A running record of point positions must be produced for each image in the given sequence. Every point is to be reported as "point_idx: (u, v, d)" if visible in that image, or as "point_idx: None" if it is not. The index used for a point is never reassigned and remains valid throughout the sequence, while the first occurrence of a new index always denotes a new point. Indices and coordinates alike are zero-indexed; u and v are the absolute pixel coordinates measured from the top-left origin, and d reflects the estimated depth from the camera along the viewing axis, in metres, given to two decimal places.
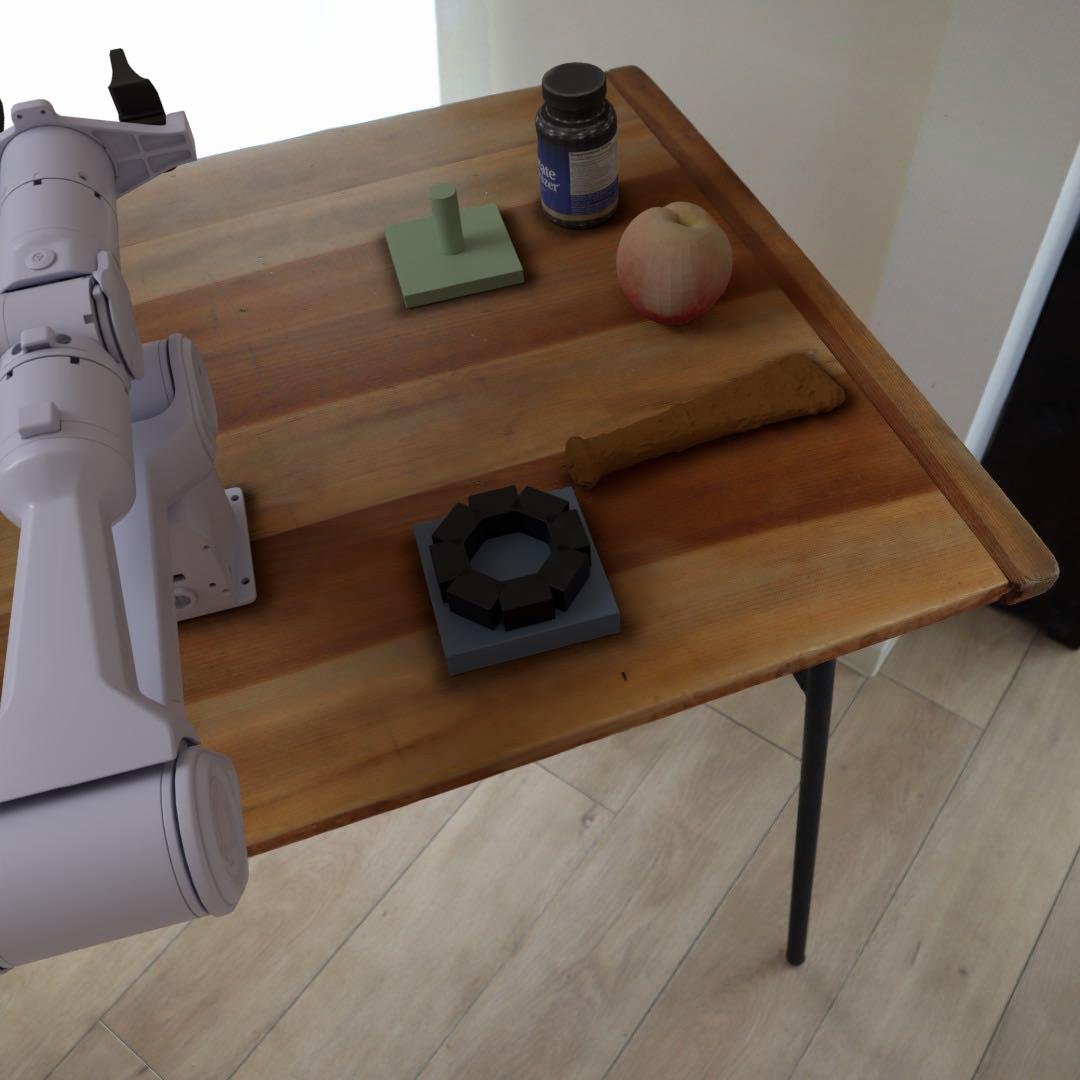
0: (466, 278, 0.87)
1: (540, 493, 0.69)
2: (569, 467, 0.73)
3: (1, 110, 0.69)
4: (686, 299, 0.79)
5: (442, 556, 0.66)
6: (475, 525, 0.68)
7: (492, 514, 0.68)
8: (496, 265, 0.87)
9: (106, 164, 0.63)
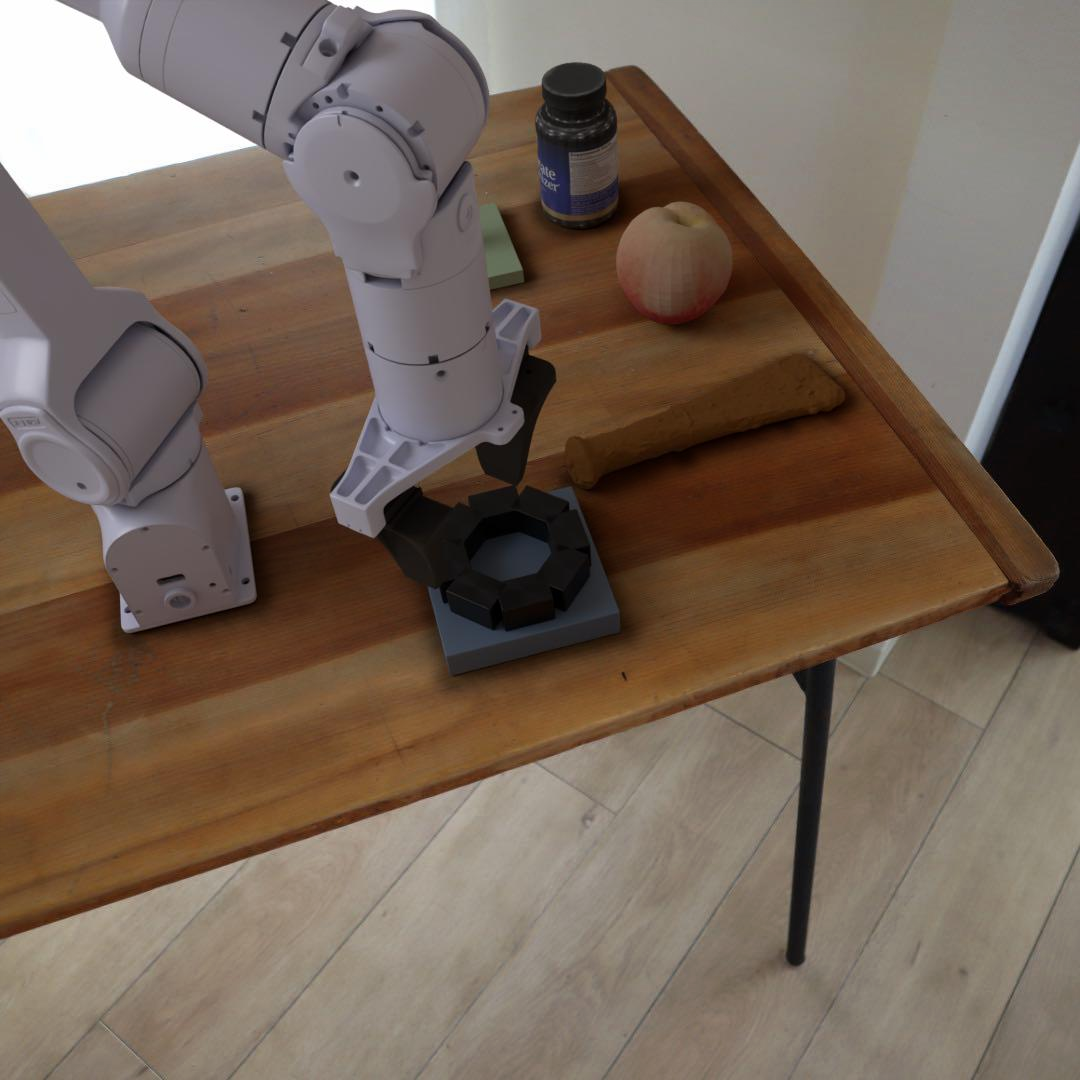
0: None
1: (540, 493, 0.69)
2: (569, 467, 0.73)
3: (485, 463, 0.62)
4: (686, 299, 0.79)
5: None
6: (475, 525, 0.68)
7: (492, 514, 0.68)
8: (496, 265, 0.87)
9: (414, 421, 0.51)
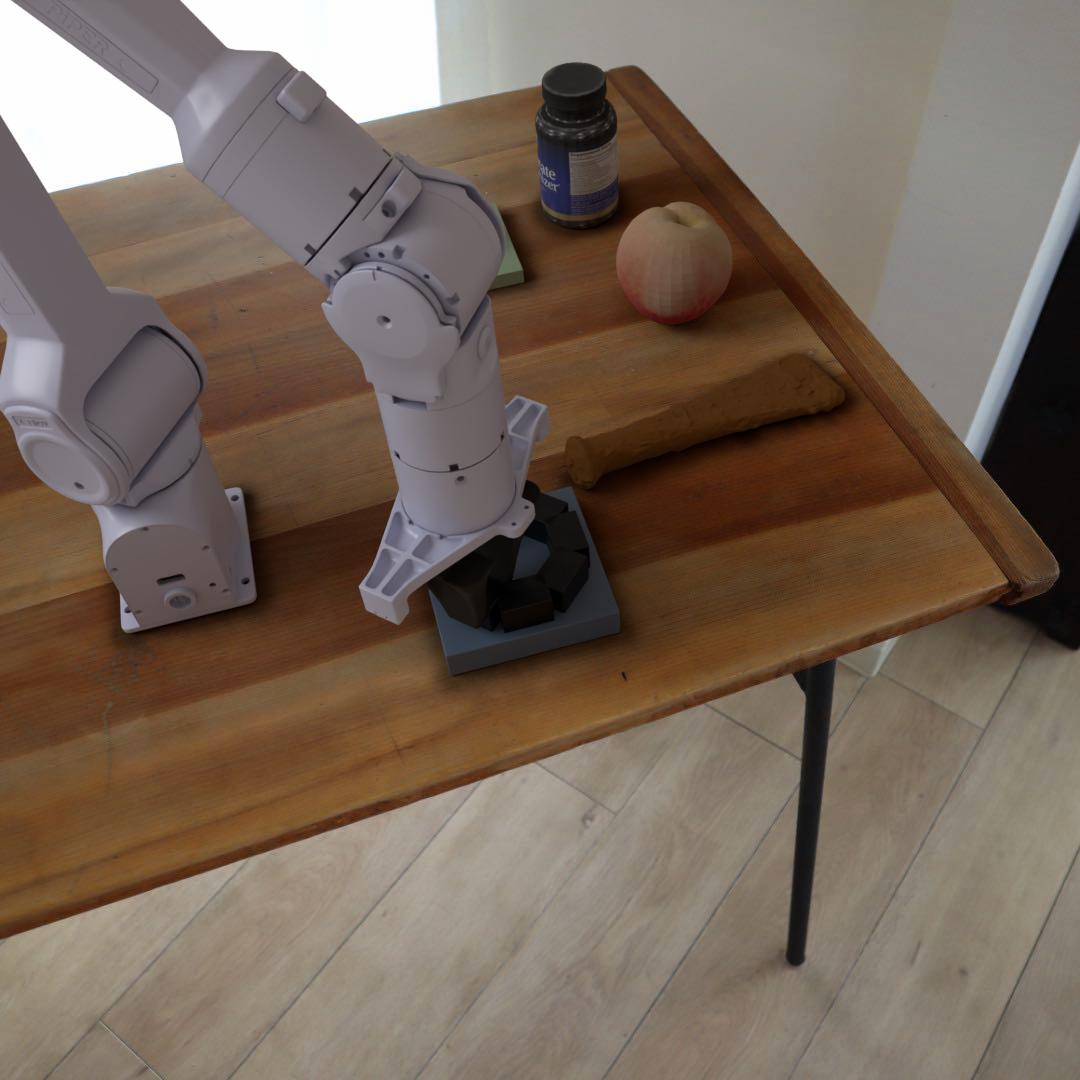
0: None
1: None
2: (569, 467, 0.73)
3: None
4: (686, 299, 0.79)
5: None
6: None
7: None
8: None
9: (435, 518, 0.56)
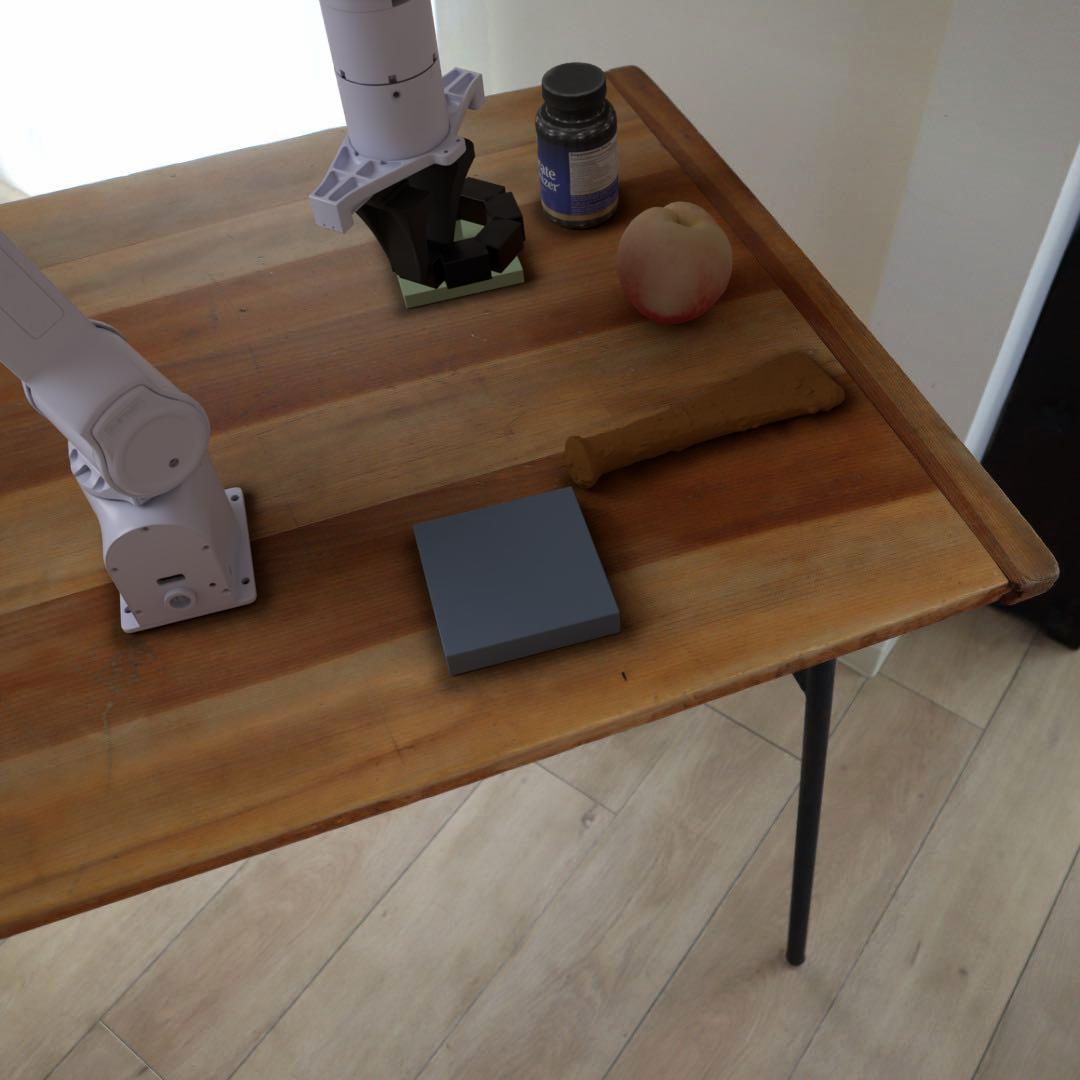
0: None
1: (479, 181, 0.77)
2: (568, 466, 0.73)
3: None
4: (686, 299, 0.79)
5: None
6: None
7: None
8: None
9: (376, 142, 0.64)
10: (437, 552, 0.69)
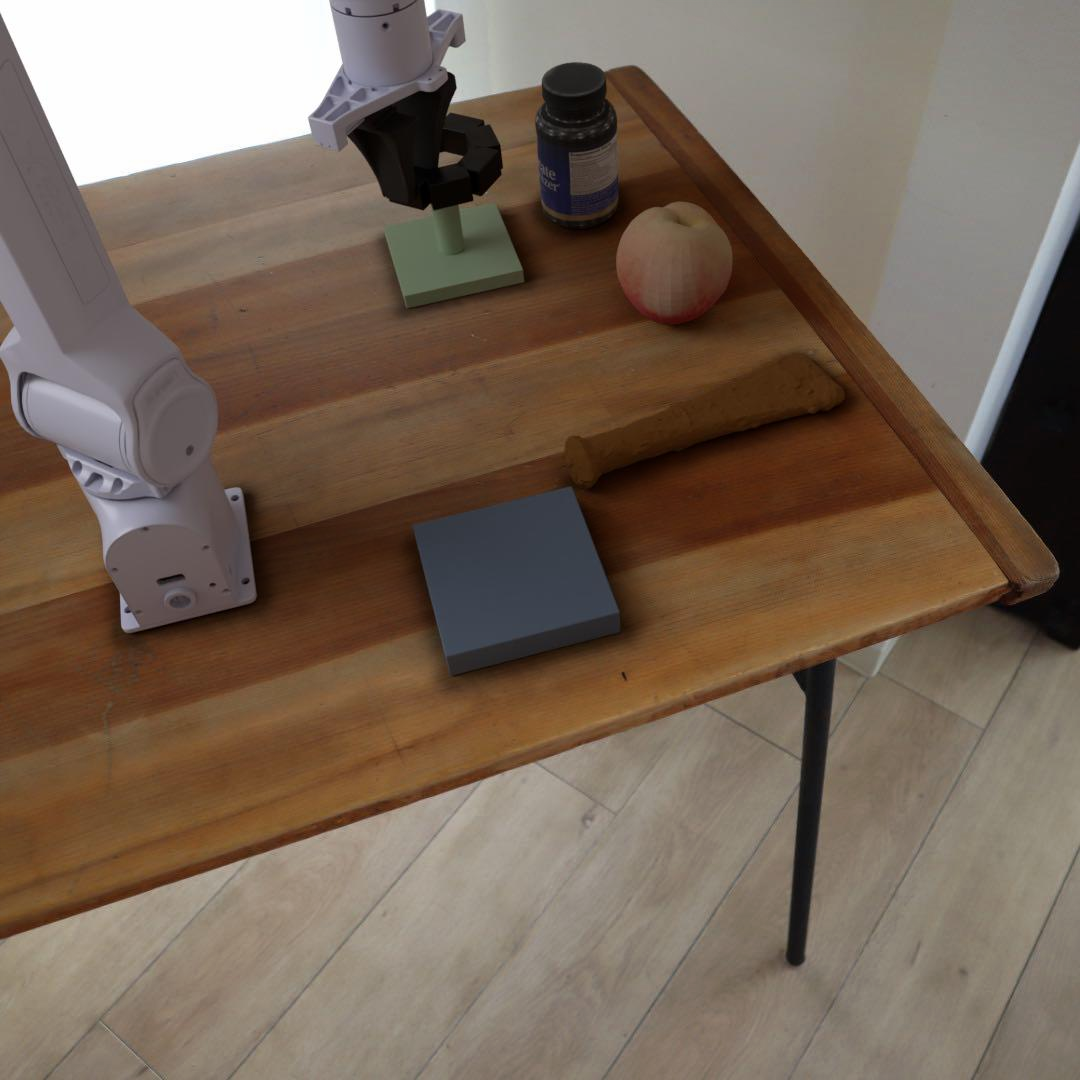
0: (466, 278, 0.87)
1: (461, 116, 0.85)
2: (568, 466, 0.73)
3: None
4: (686, 299, 0.79)
5: None
6: None
7: None
8: (496, 265, 0.87)
9: (368, 70, 0.72)
10: (437, 552, 0.69)
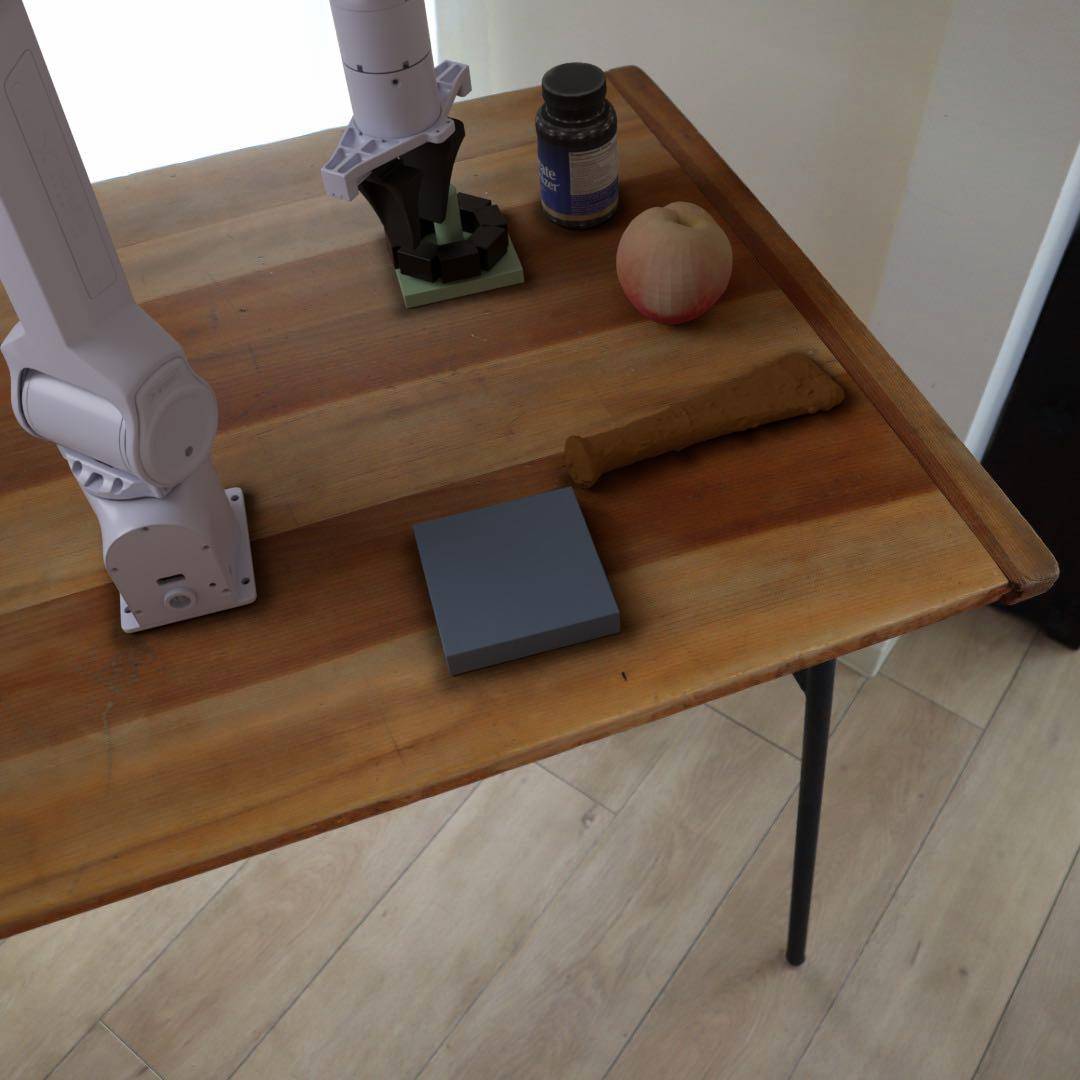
0: None
1: (469, 196, 0.90)
2: (568, 466, 0.73)
3: (417, 207, 0.85)
4: (686, 299, 0.79)
5: None
6: None
7: None
8: (496, 265, 0.87)
9: (378, 123, 0.75)
10: (437, 552, 0.69)
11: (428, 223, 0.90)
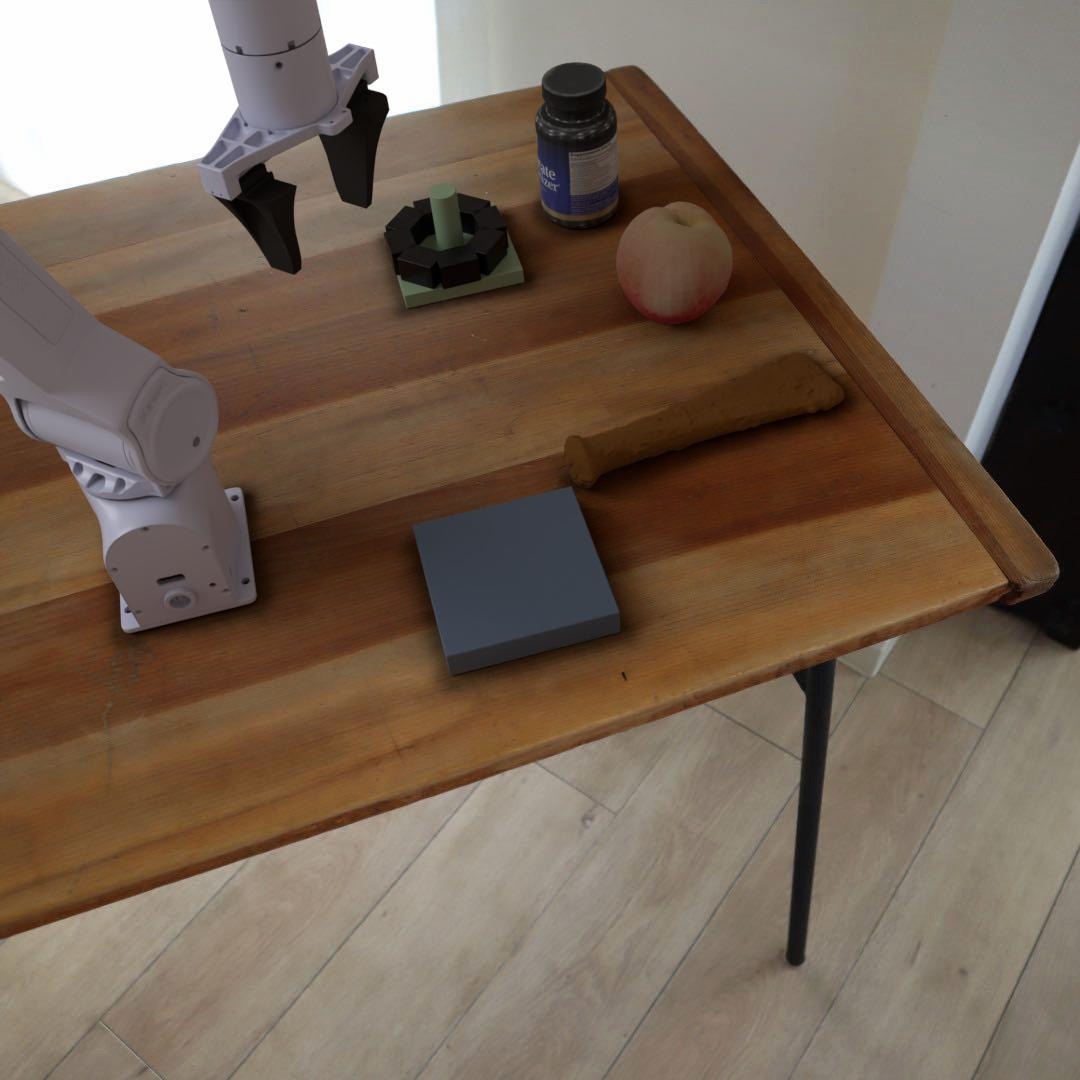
0: None
1: (468, 197, 0.90)
2: (568, 466, 0.73)
3: (341, 190, 0.78)
4: (686, 299, 0.79)
5: (394, 238, 0.87)
6: (419, 218, 0.89)
7: (431, 211, 0.89)
8: None
9: (263, 112, 0.67)
10: (437, 552, 0.69)
11: (428, 226, 0.90)
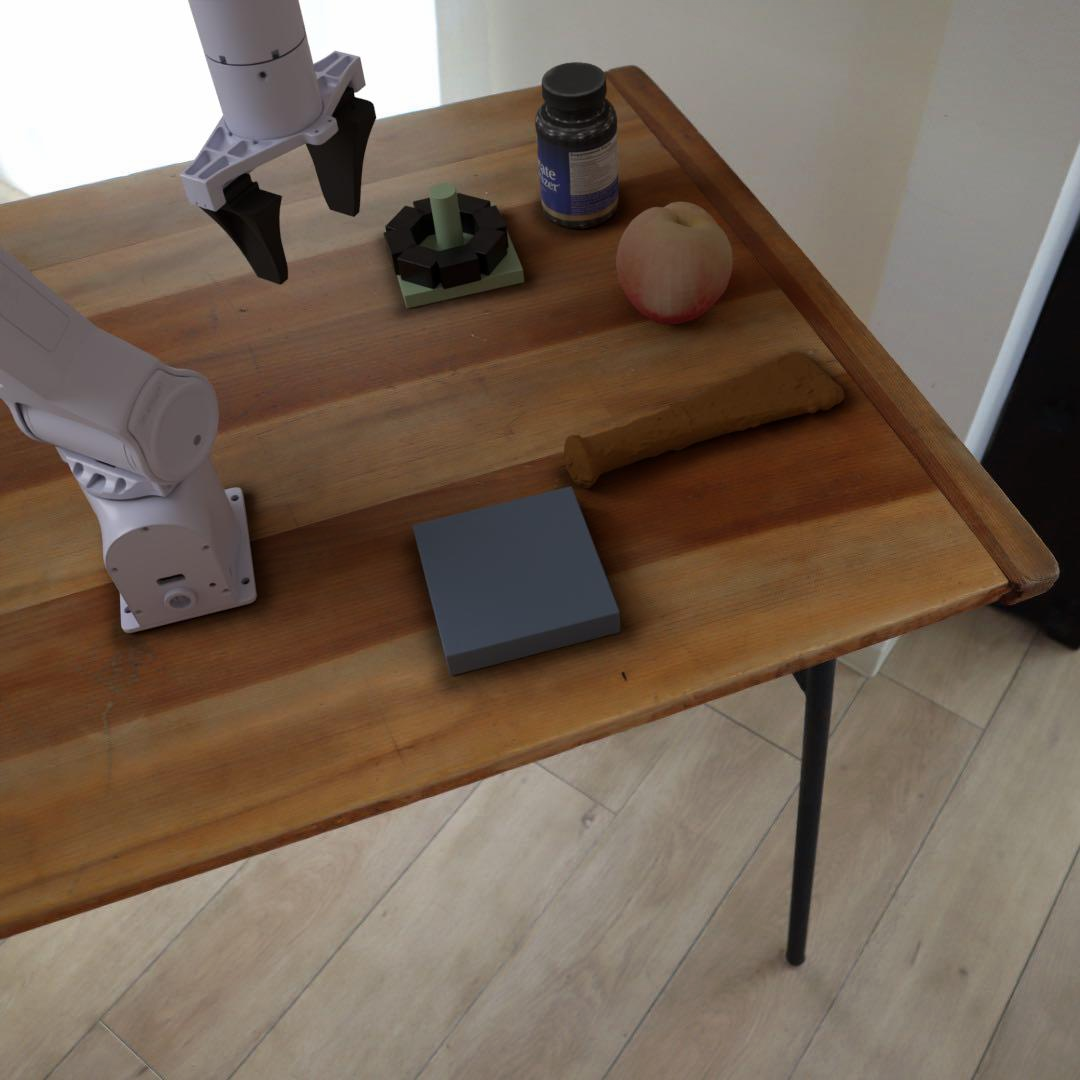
0: None
1: (468, 197, 0.90)
2: (568, 466, 0.73)
3: (328, 198, 0.77)
4: (686, 299, 0.79)
5: (394, 238, 0.87)
6: (419, 218, 0.89)
7: (431, 211, 0.89)
8: None
9: (247, 122, 0.66)
10: (437, 552, 0.69)
11: (428, 226, 0.90)
